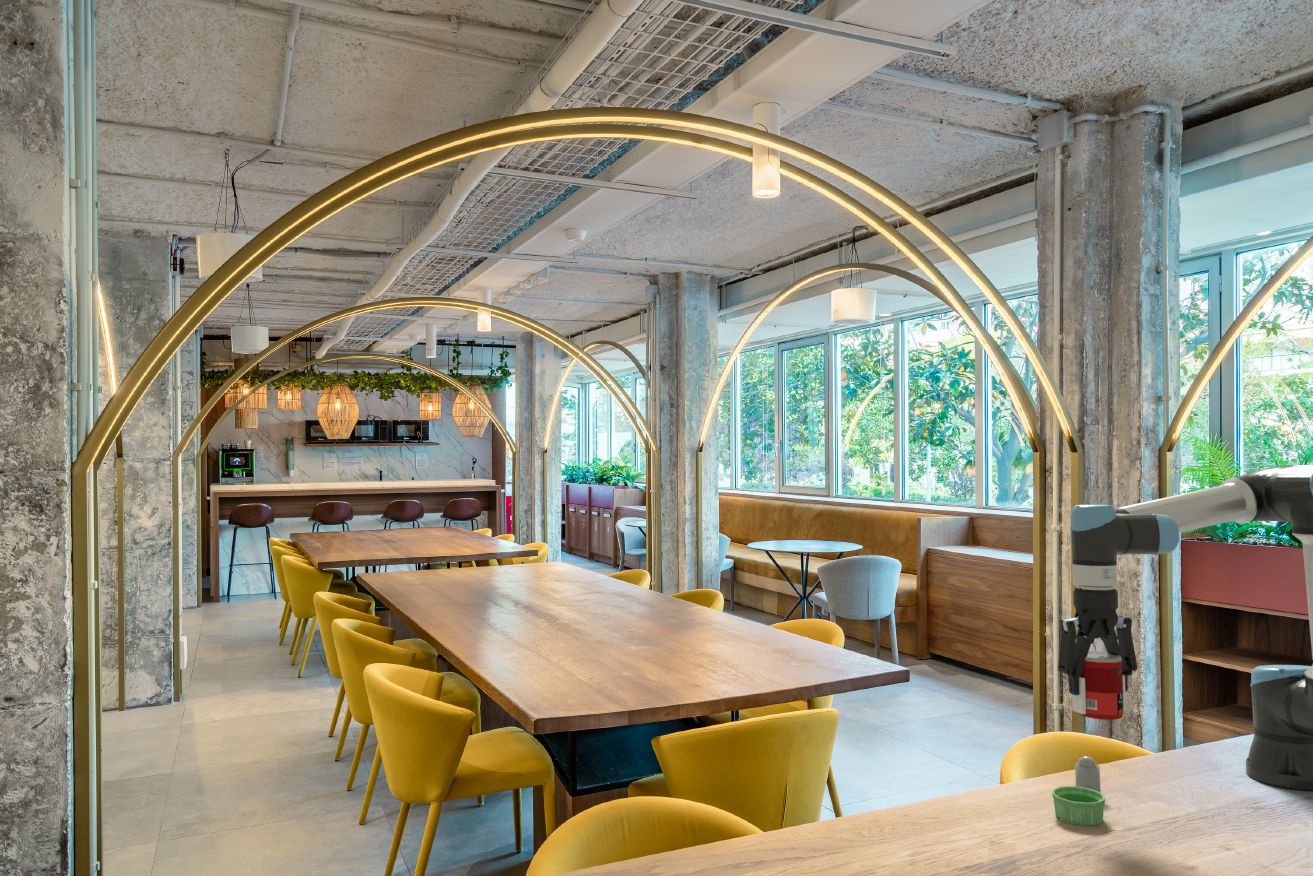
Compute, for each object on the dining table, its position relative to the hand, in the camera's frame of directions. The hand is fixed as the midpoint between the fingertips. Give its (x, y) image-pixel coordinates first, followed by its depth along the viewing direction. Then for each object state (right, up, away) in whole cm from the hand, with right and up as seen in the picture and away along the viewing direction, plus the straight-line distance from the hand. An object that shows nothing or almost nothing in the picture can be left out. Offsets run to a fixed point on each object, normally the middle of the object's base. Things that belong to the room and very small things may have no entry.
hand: (1099, 710), depth 165 cm
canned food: (0, -1, 0) cm, 1 cm away
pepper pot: (+3, -20, +11) cm, 23 cm away
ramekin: (-4, -20, 0) cm, 21 cm away
